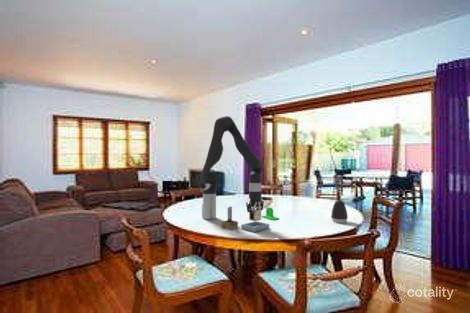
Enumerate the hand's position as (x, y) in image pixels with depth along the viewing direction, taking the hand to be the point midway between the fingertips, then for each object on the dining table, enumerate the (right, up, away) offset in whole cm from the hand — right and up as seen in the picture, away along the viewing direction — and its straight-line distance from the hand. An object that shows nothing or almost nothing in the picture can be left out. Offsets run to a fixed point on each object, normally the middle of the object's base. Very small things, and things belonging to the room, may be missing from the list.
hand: (255, 218), depth 177 cm
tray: (0, -7, 0) cm, 7 cm away
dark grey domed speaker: (+57, -7, +17) cm, 60 cm away
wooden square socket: (-15, -7, +3) cm, 17 cm away
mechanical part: (+12, -7, +28) cm, 31 cm away
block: (0, -1, 0) cm, 1 cm away
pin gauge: (-16, -6, +3) cm, 17 cm away
